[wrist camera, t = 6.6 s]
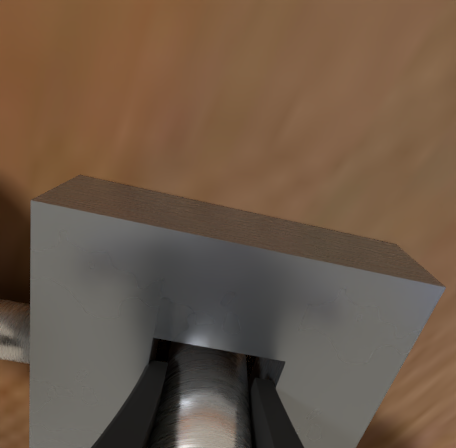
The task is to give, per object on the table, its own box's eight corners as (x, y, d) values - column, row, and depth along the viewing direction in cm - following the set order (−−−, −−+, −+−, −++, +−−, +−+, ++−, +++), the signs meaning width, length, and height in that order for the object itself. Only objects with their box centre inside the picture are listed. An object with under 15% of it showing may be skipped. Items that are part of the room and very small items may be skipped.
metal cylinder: (252, 331, 13) (271, 513, 7) (238, 388, 14) (245, 582, 8) (173, 320, 13) (131, 500, 7) (165, 379, 14) (124, 572, 8)
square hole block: (396, 244, 12) (445, 287, 9) (300, 448, 17) (315, 520, 14) (-166, 121, 11) (-307, 129, 8) (-111, 384, 15) (-189, 450, 12)
